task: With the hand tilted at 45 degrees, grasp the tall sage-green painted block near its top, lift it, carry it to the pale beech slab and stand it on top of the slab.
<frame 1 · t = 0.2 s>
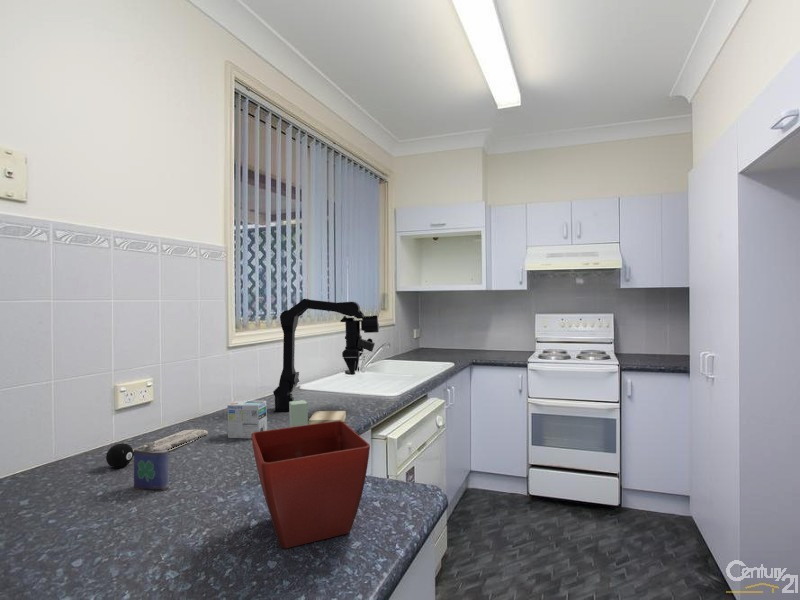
hand: (354, 372, 177), 15 cm above the countertop, tool pointing down, fingers open, 9 cm apart
tall block: (298, 432, 146), on the countertop
light bulb box: (247, 436, 144), on the countertop
flask: (150, 488, 104), on the countertop
plant pot: (309, 527, 85), on the countertop
newspaper: (172, 446, 137), on the countertop
slab: (328, 423, 156), on the countertop
billiard ball: (120, 467, 118), on the countertop
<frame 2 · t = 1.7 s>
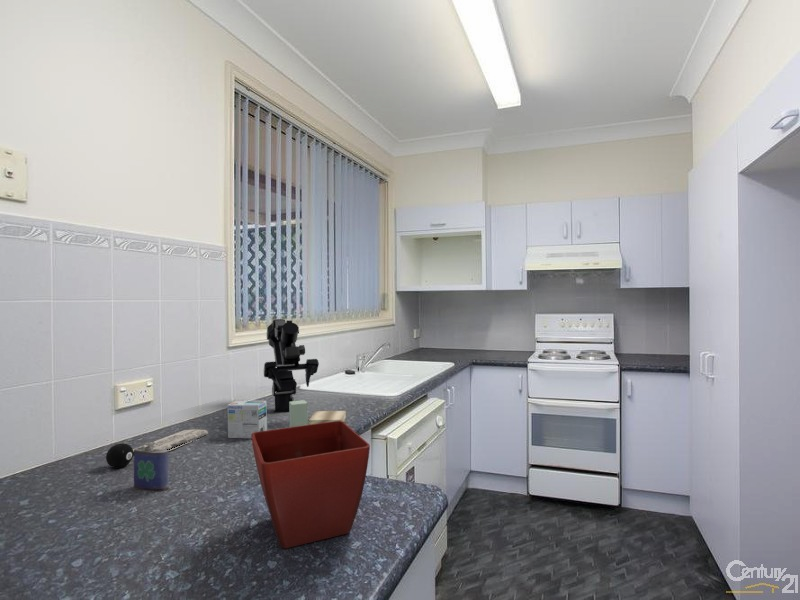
hand: (294, 387, 154), 13 cm above the countertop, tool tilted 45°, fingers open, 9 cm apart
nothing on the countertop moved.
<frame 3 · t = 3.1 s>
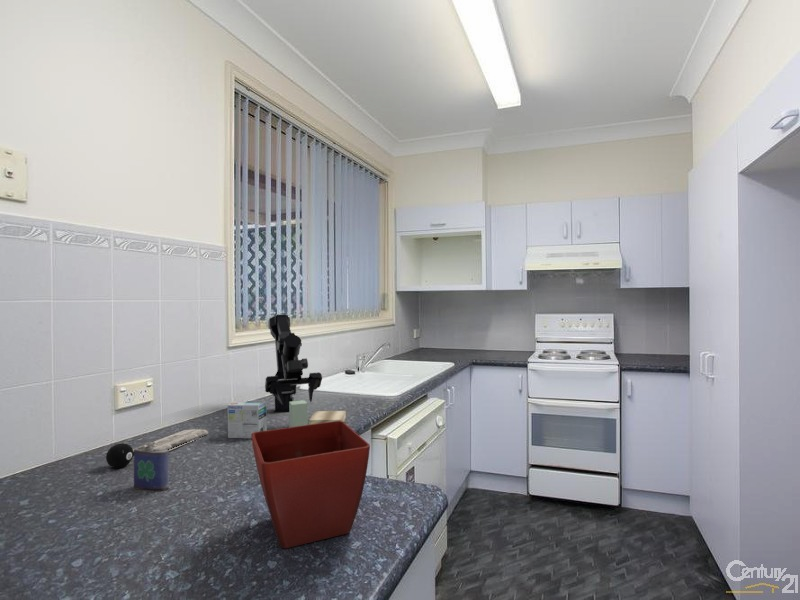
hand: (297, 402, 148), 9 cm above the countertop, tool tilted 45°, fingers open, 9 cm apart
nothing on the countertop moved.
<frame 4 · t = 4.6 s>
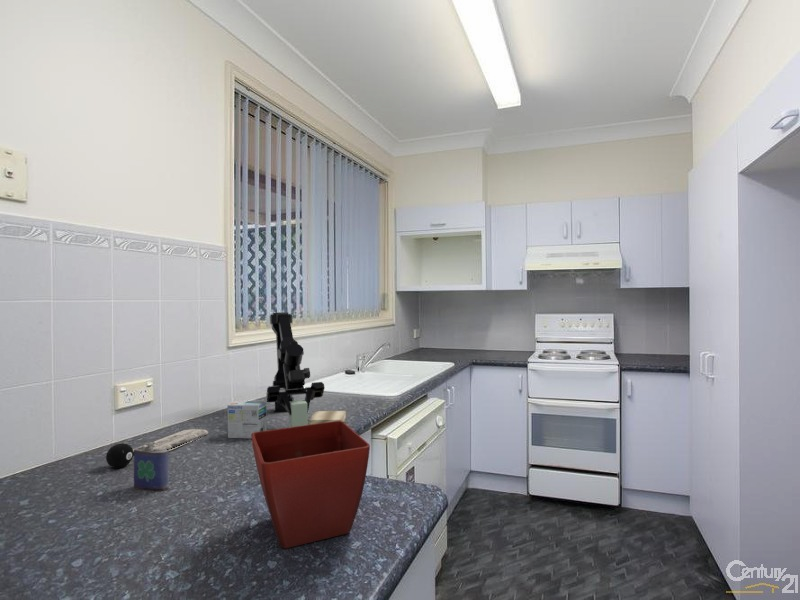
hand: (299, 413, 145), 7 cm above the countertop, tool tilted 45°, fingers closed on tall block, 5 cm apart
tall block: (298, 432, 146), on the countertop, touching gripper
everything else where it was.
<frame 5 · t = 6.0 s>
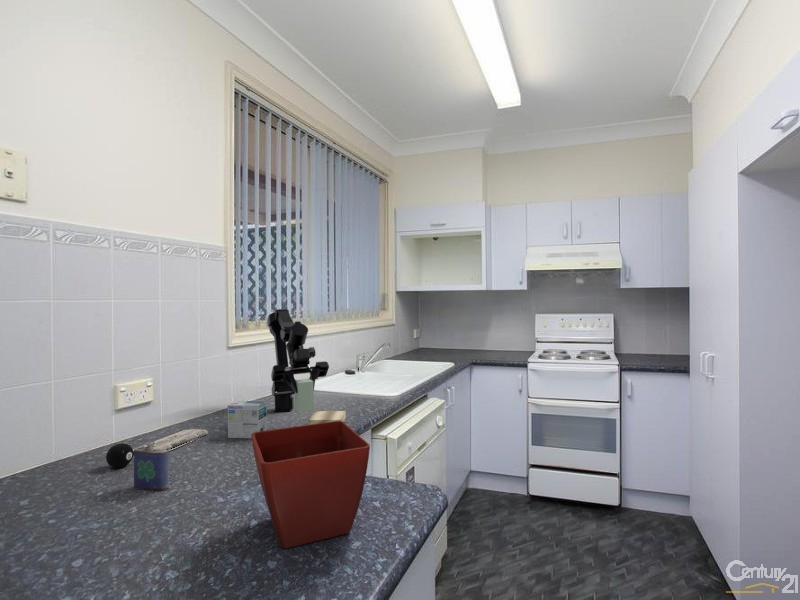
hand: (305, 391, 147), 13 cm above the countertop, tool tilted 45°, fingers closed on tall block, 5 cm apart
tall block: (304, 410, 148), point 7 cm above the countertop, touching gripper
everything else where it was.
when the fingers open (11 cm above the countertop, at t = 7.6 s): tall block drops 1 cm, resting on slab.
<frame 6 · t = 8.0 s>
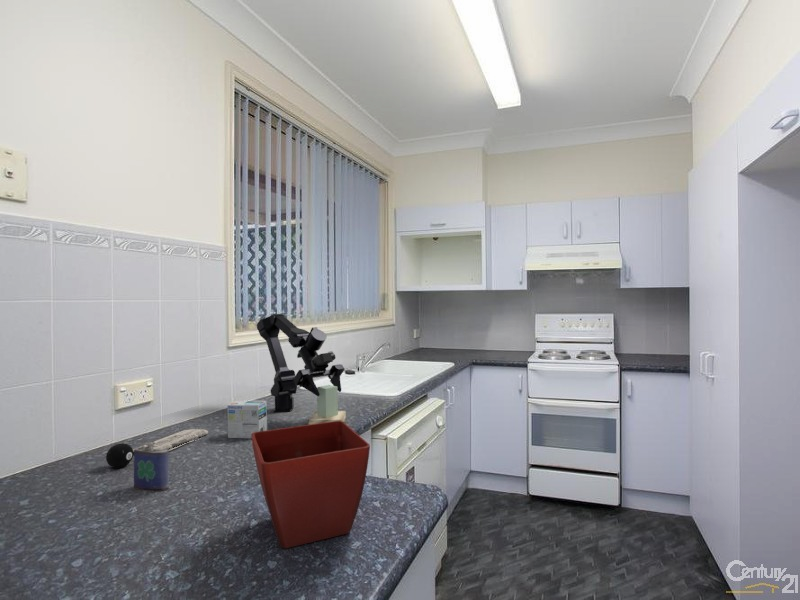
hand: (329, 393, 155), 11 cm above the countertop, tool tilted 45°, fingers open, 9 cm apart
tall block: (327, 415, 156), point 3 cm above the countertop, touching slab
everything else where it was.
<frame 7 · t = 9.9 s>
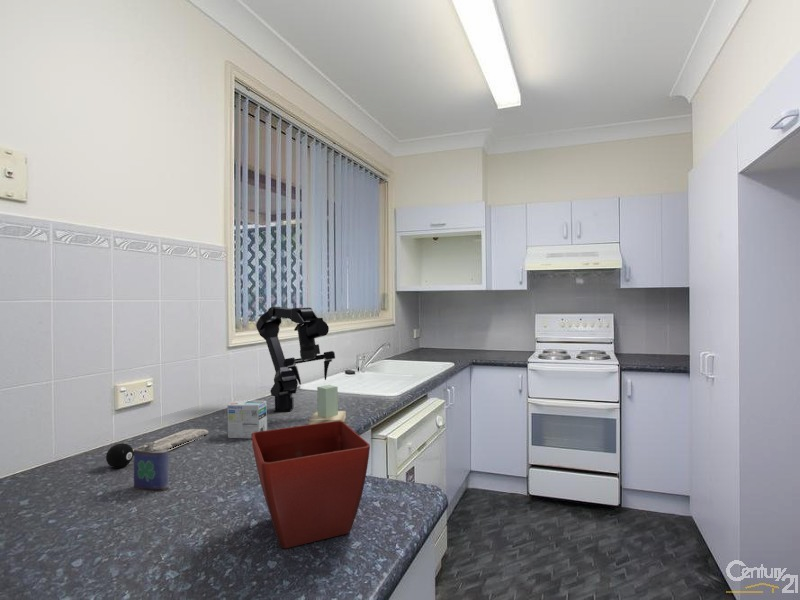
hand: (313, 382, 164), 13 cm above the countertop, tool pointing down, fingers open, 9 cm apart
nothing on the countertop moved.
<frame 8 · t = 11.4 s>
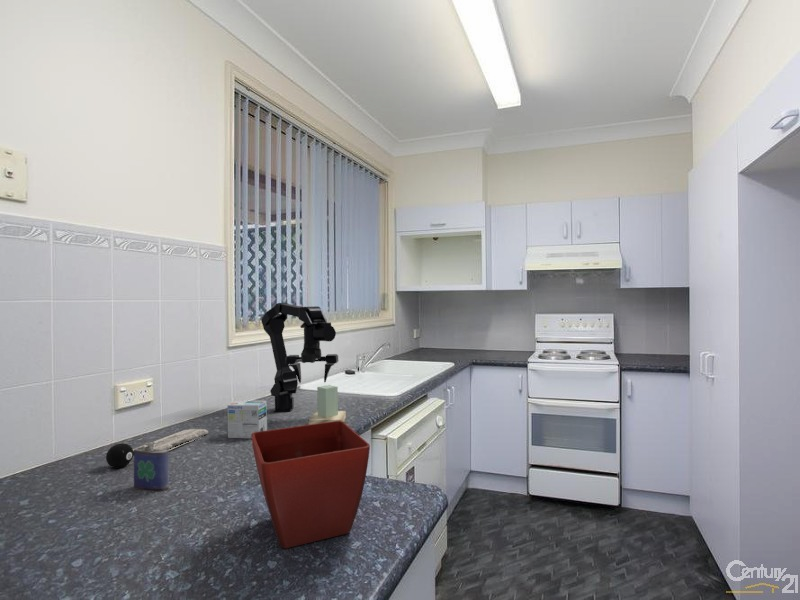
hand: (312, 382, 165), 13 cm above the countertop, tool pointing down, fingers open, 9 cm apart
nothing on the countertop moved.
at the end: tall block touching slab; tall block tilted 0° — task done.
